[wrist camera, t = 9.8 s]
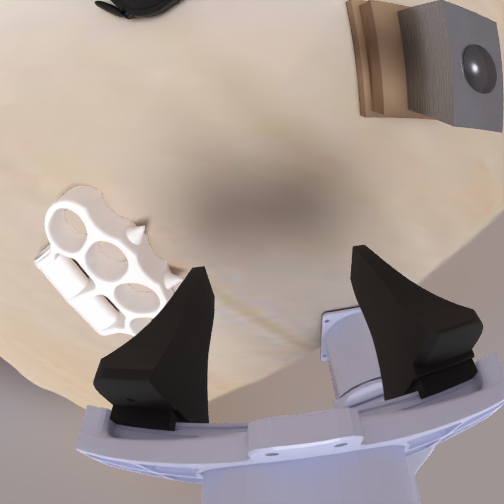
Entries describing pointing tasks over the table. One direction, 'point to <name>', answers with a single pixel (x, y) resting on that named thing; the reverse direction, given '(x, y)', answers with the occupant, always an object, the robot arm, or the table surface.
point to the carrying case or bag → (135, 7)
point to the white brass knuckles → (103, 265)
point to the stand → (380, 59)
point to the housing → (452, 65)
